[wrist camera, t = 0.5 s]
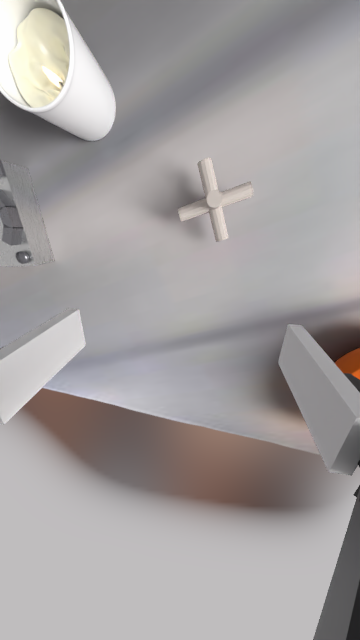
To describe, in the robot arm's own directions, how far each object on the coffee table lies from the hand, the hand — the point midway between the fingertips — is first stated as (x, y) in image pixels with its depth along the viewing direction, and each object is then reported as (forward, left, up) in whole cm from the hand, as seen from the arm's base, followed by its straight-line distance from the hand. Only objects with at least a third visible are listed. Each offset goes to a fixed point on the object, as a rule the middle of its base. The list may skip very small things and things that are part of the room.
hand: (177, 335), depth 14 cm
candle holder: (-23, -16, -27) cm, 39 cm away
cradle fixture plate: (-9, -34, -27) cm, 44 cm away
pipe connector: (-9, +2, -27) cm, 29 cm away
